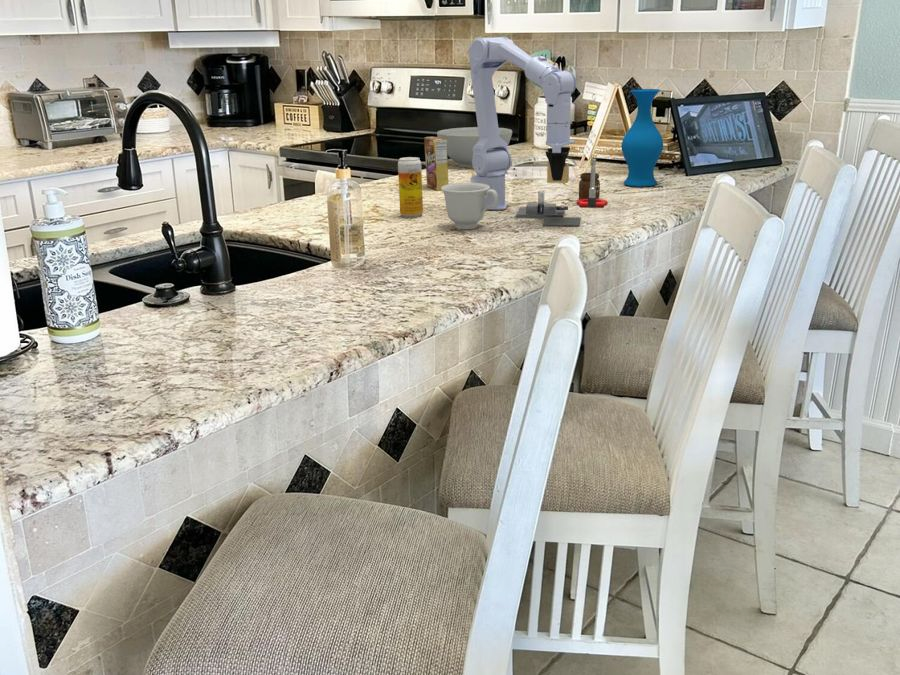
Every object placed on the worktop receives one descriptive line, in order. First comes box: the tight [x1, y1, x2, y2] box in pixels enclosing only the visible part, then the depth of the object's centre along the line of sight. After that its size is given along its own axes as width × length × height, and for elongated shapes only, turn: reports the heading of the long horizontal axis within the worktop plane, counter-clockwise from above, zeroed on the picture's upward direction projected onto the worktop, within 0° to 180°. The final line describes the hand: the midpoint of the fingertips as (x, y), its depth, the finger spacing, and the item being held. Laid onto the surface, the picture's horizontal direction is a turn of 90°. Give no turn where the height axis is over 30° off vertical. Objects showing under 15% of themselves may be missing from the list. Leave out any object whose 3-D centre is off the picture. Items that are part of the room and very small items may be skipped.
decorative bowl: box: [436, 126, 513, 169], centre depth 301 cm, size 27×27×12 cm
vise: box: [515, 190, 569, 219], centre depth 220 cm, size 13×10×6 cm
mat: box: [542, 216, 582, 228], centre depth 211 cm, size 9×9×1 cm
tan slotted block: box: [546, 162, 570, 184], centre depth 210 cm, size 5×5×4 cm
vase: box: [621, 88, 664, 188], centre depth 253 cm, size 12×13×28 cm
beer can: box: [397, 156, 424, 219], centre depth 221 cm, size 6×6×15 cm
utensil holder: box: [578, 154, 601, 200], centre depth 238 cm, size 6×6×12 cm
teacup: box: [441, 182, 498, 230], centre depth 207 cm, size 12×15×10 cm
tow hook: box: [576, 158, 609, 208], centre depth 230 cm, size 8×13×9 cm
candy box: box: [423, 136, 449, 192], centre depth 259 cm, size 9×4×15 cm, turn 23°
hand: (557, 178), depth 210 cm, fingers closed on tan slotted block, 5 cm apart
